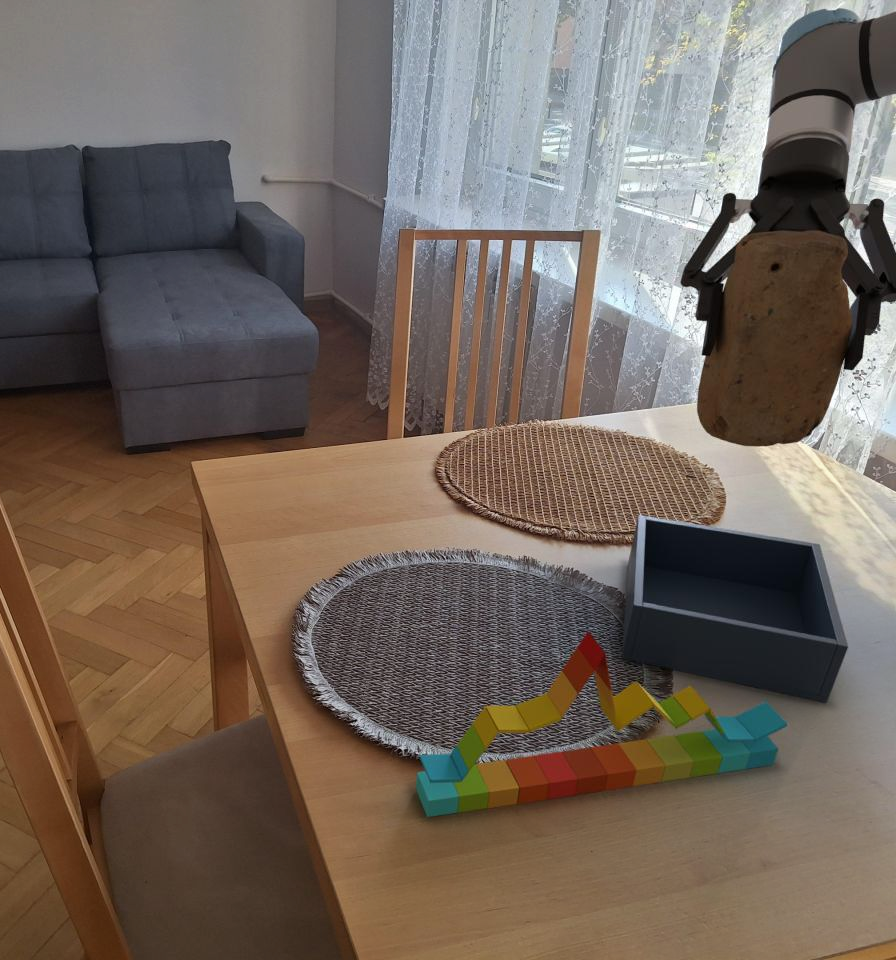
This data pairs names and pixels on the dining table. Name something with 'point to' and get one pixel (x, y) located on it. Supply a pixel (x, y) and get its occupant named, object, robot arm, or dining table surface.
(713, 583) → the grey storage tray
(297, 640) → the dining table surface
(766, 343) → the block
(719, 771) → the chart
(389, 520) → the dining table surface
